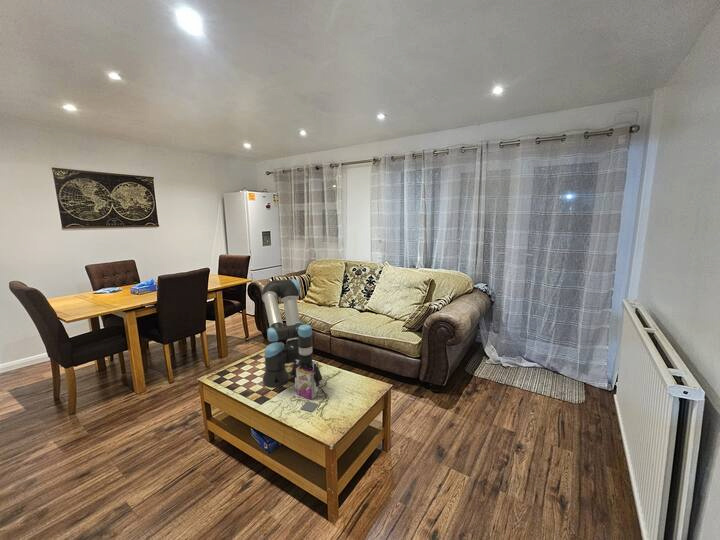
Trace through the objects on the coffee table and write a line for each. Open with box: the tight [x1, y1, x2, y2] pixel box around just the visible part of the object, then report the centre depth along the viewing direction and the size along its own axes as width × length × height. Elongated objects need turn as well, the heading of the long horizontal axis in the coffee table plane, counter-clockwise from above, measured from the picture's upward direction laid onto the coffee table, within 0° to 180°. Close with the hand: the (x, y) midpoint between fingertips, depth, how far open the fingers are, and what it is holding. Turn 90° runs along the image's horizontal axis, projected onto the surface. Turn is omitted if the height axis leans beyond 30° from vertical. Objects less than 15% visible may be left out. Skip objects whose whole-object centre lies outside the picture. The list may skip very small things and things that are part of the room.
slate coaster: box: [300, 400, 319, 413], centre depth 161 cm, size 7×7×1 cm
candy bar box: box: [295, 365, 318, 401], centre depth 171 cm, size 11×5×16 cm, turn 59°
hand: (306, 389), depth 171 cm, fingers closed on candy bar box, 12 cm apart
